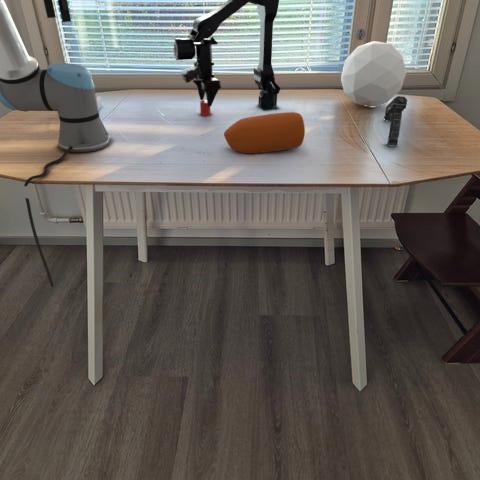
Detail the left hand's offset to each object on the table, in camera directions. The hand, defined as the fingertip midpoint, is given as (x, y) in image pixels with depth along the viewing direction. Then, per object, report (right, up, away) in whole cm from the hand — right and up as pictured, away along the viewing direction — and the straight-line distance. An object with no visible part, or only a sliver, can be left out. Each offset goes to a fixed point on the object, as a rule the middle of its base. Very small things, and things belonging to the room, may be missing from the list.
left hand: (59, 19), depth 139 cm
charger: (+3, -24, +20) cm, 32 cm away
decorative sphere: (+115, -20, +29) cm, 120 cm away
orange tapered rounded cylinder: (+70, -47, -11) cm, 85 cm away
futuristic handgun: (+114, -39, +1) cm, 121 cm away
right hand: (+49, -24, +14) cm, 56 cm away
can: (+49, -28, +16) cm, 58 cm away
